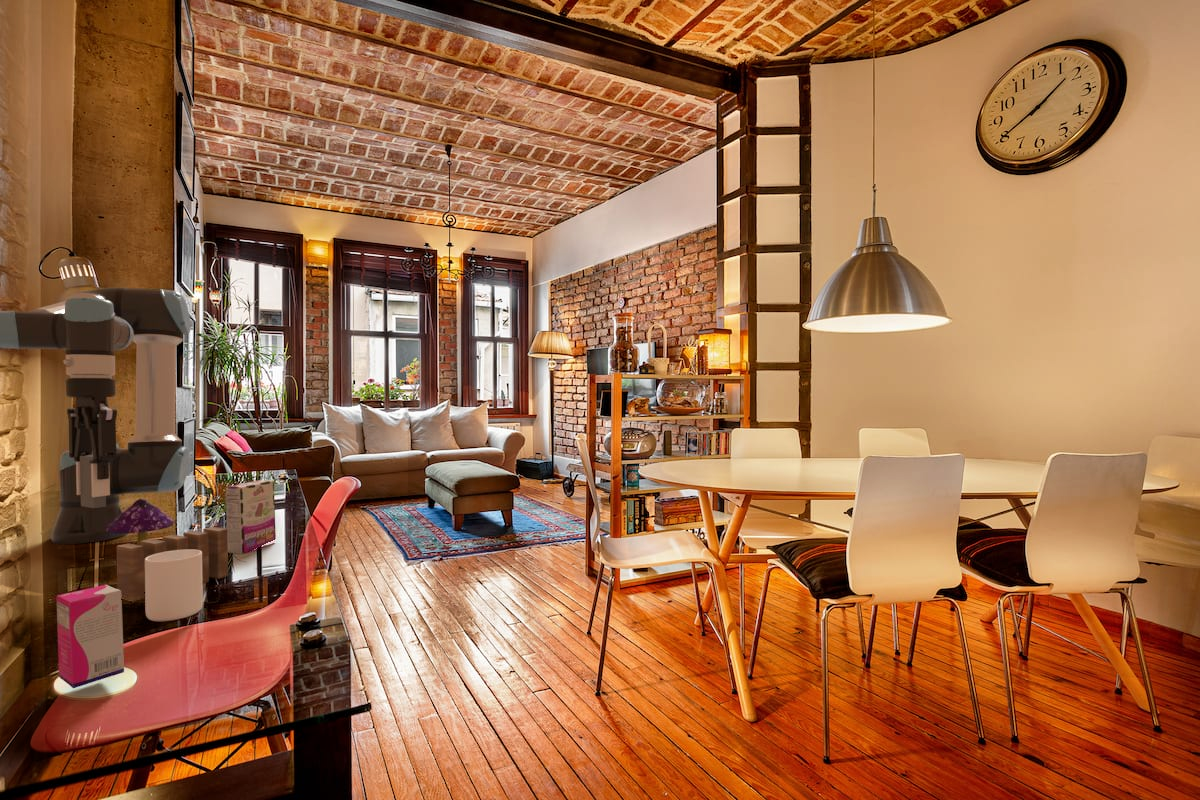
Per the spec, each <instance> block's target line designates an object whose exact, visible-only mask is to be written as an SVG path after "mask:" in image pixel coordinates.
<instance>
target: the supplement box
mask: <svg viewBox="0 0 1200 800" xmlns="http://www.w3.org/2000/svg"><path fill="white" fill-rule="evenodd" d="M122 601H123V600H121V590H118V589H117V588H115V587H112V586H110V585H108V584H102V585H98V586H93V587H89V588H84V589H80V590H76V591H71V592H67V593H63V594H57V595H56V621H57V622H56V624H57V625H56V626H57V630H56V631H57V648H58V649H57V650H58V651H57V655H58V677H59V678H60V679H61V680H62V681H63V682H65V683H66V684H68V686H70V687H71V688H72V689H75V688H80V687H82V686H85V685H88V684H89V685H90V684H92V683H94V682H97V681H101V680H103V679H107V678H111V677H113V676H117V675H120V674H123V673H124V672H125V662H124V661H125V660H124V655H125V654H124V653H125V652H124V633H123V632H124V630H123V629H124V628H123V607H122V606H123V605H122V603H123V602H122Z"/></svg>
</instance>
